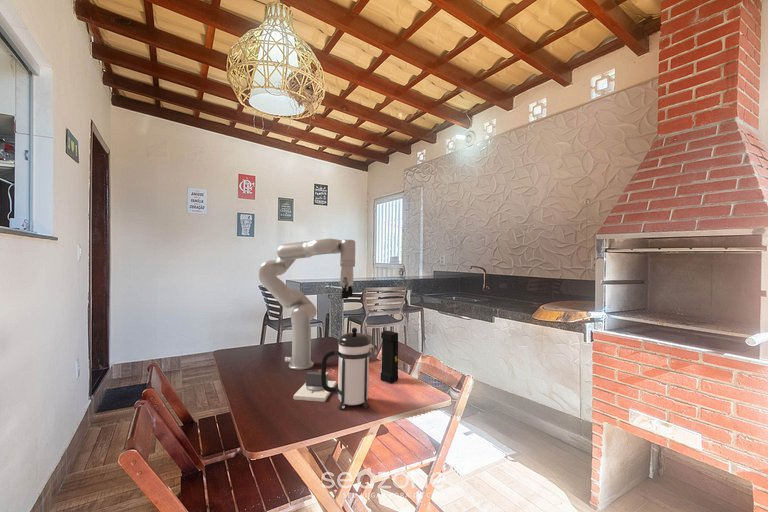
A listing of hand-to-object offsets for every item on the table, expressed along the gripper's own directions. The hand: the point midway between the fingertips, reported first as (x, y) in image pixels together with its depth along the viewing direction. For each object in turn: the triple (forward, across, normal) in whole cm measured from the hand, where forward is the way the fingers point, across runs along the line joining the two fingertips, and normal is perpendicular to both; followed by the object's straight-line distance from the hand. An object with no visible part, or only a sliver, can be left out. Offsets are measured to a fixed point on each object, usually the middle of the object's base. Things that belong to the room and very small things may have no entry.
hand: (347, 297), depth 174 cm
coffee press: (+37, +39, +11) cm, 55 cm away
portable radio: (+37, +12, +24) cm, 46 cm away
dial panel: (+37, +29, -6) cm, 47 cm away
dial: (+35, +29, -6) cm, 46 cm away
